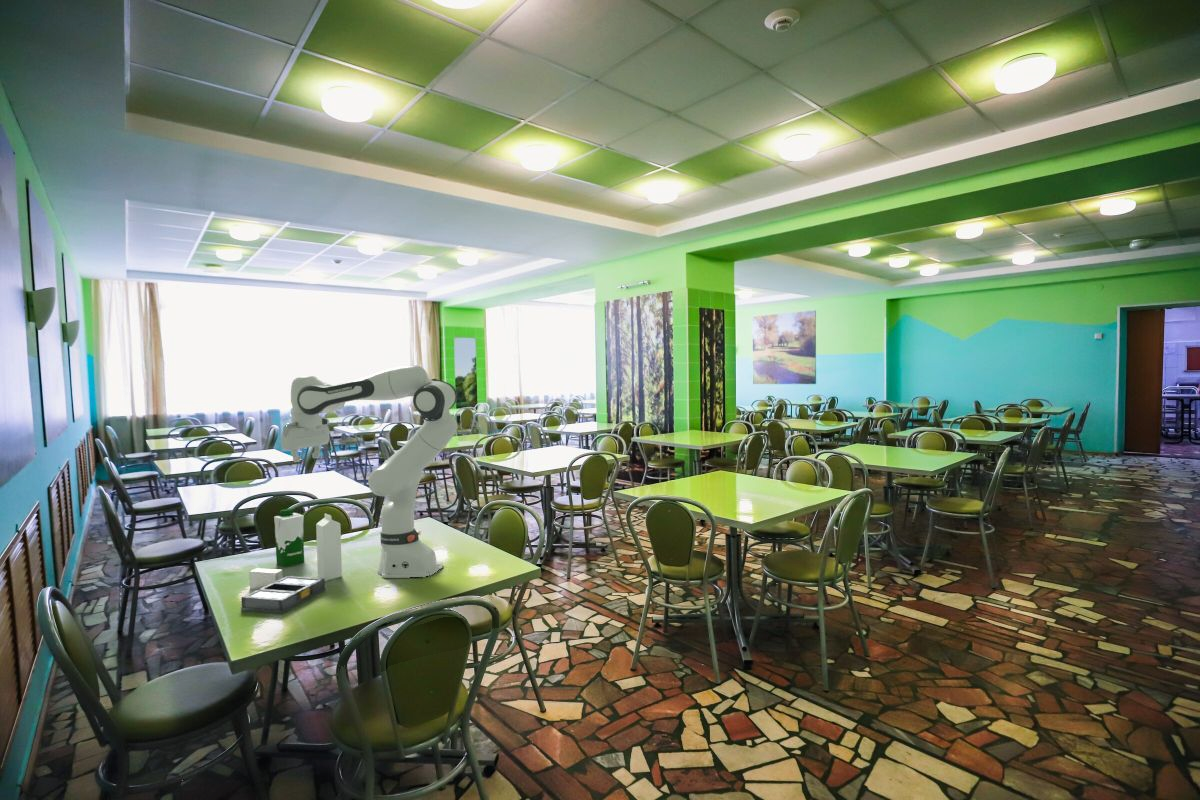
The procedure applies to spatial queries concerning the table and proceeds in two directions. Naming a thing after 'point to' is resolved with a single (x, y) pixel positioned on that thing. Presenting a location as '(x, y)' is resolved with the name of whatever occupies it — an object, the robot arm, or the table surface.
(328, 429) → the robot arm
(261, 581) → the white rectangular block
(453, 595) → the table surface
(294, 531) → the milk carton
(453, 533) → the table surface
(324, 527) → the milk
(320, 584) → the tray
